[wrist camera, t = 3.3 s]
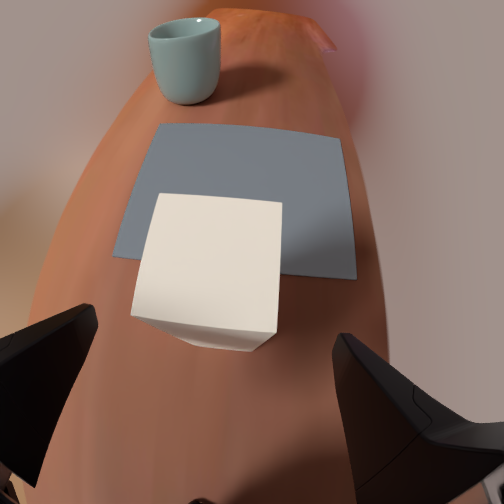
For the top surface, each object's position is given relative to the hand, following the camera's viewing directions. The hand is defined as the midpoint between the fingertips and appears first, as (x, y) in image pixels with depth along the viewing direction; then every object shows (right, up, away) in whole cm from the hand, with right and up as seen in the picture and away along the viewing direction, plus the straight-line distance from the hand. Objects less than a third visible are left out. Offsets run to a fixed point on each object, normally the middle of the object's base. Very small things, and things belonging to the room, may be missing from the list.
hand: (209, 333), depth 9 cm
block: (0, -2, +10) cm, 10 cm away
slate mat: (+1, +9, +15) cm, 17 cm away
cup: (-6, +22, +20) cm, 31 cm away
